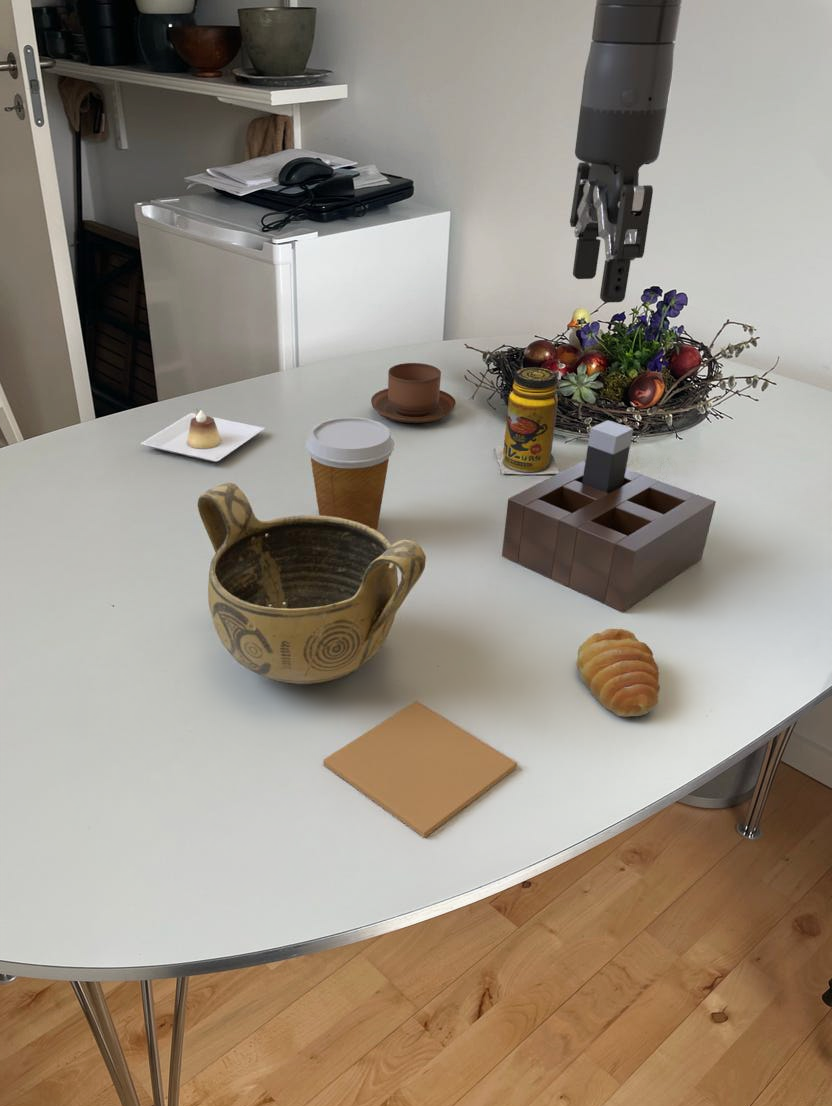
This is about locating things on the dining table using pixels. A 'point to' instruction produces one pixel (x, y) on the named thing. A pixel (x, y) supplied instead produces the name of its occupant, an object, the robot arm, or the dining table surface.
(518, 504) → the holder
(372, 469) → the disposable coffee cup
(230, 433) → the dessert
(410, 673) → the dining table surface
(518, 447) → the condiment
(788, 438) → the dining table surface
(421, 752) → the cork mat
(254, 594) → the ceramic bowl
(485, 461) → the dining table surface
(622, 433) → the grey-capped tall post
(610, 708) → the pastry
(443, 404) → the cup and saucer
